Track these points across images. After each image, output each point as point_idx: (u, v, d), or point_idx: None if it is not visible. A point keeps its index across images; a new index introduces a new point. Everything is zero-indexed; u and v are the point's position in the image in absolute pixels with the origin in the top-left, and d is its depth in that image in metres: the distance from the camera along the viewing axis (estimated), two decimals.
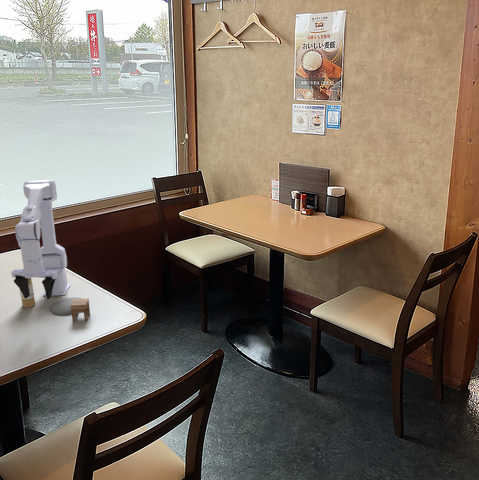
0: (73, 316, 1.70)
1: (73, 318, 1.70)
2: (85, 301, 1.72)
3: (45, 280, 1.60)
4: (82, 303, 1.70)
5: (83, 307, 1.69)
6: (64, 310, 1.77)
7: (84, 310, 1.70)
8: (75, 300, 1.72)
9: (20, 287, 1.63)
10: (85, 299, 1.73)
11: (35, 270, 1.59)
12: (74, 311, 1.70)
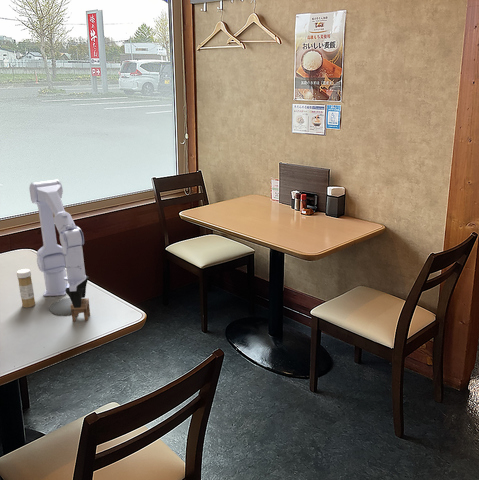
0: (73, 316, 1.70)
1: (73, 318, 1.70)
2: (85, 301, 1.72)
3: (68, 288, 1.65)
4: (82, 303, 1.70)
5: (83, 307, 1.69)
6: (64, 310, 1.77)
7: (84, 310, 1.70)
8: None
9: None
10: (85, 299, 1.73)
11: (68, 276, 1.66)
12: (74, 311, 1.70)
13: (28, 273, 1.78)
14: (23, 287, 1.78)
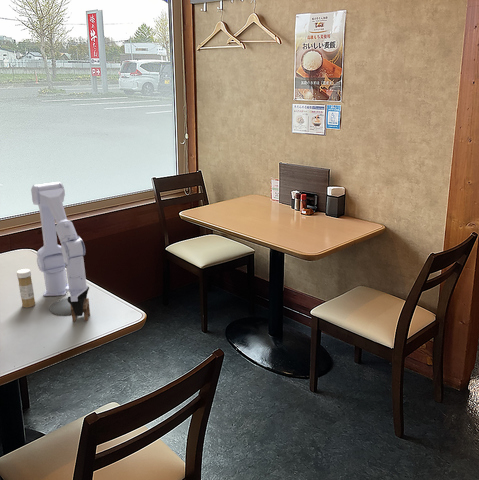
0: (73, 316, 1.70)
1: (73, 318, 1.70)
2: (85, 301, 1.72)
3: (69, 298, 1.66)
4: None
5: (83, 307, 1.69)
6: (64, 310, 1.77)
7: (84, 310, 1.70)
8: None
9: None
10: (85, 299, 1.73)
11: (69, 286, 1.67)
12: None
13: (28, 273, 1.78)
14: (23, 287, 1.78)
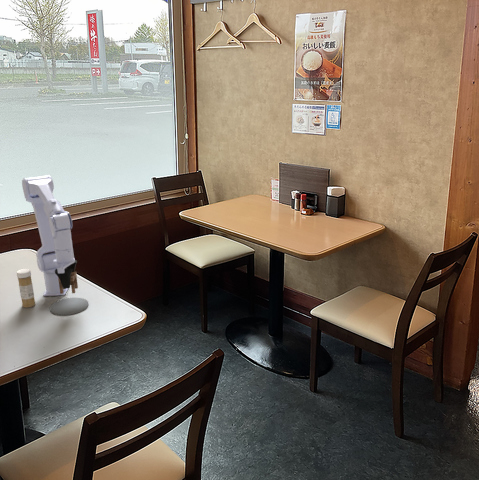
0: (61, 288, 1.75)
1: (61, 290, 1.75)
2: (73, 274, 1.76)
3: (56, 270, 1.70)
4: None
5: (70, 280, 1.74)
6: (64, 310, 1.77)
7: (71, 283, 1.74)
8: None
9: None
10: (73, 272, 1.77)
11: (57, 258, 1.72)
12: None
13: (28, 273, 1.78)
14: (23, 287, 1.78)
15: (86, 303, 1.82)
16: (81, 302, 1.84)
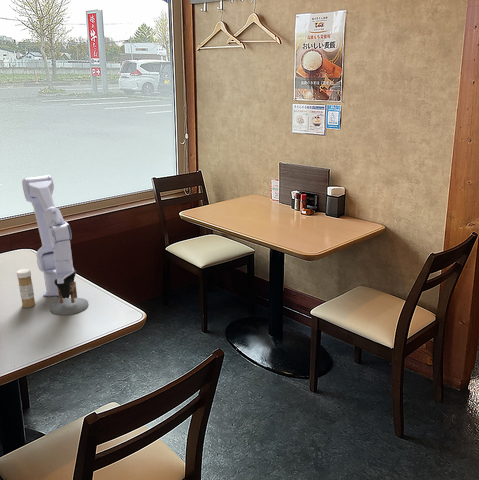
0: (60, 298, 1.77)
1: (60, 300, 1.78)
2: (72, 284, 1.79)
3: (56, 281, 1.73)
4: None
5: (70, 289, 1.77)
6: (64, 310, 1.77)
7: (71, 292, 1.77)
8: None
9: None
10: (72, 282, 1.80)
11: (56, 269, 1.75)
12: None
13: (28, 273, 1.78)
14: (23, 287, 1.78)
15: (86, 303, 1.82)
16: (81, 302, 1.84)
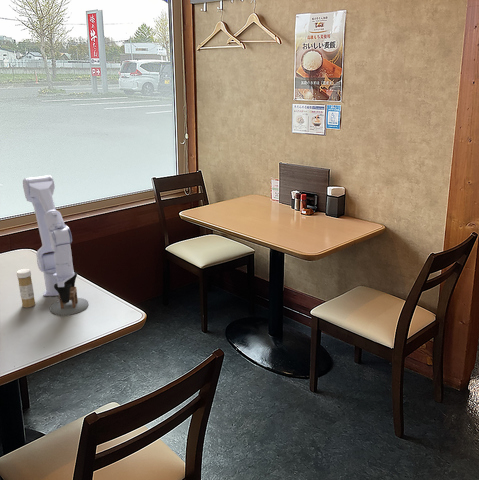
0: (61, 303, 1.78)
1: (61, 305, 1.78)
2: (73, 289, 1.79)
3: (56, 284, 1.73)
4: (70, 291, 1.78)
5: (71, 295, 1.77)
6: (64, 310, 1.77)
7: (72, 298, 1.78)
8: None
9: None
10: (73, 287, 1.81)
11: (57, 272, 1.75)
12: None
13: (28, 273, 1.78)
14: (23, 287, 1.78)
15: (86, 303, 1.82)
16: (81, 302, 1.84)
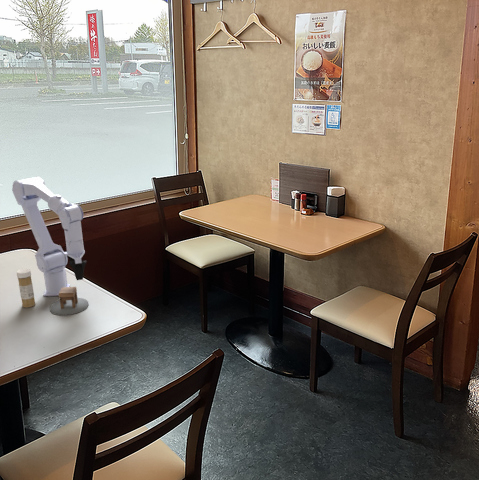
0: (61, 303, 1.78)
1: (61, 305, 1.78)
2: (73, 289, 1.79)
3: (71, 262, 1.75)
4: (70, 291, 1.78)
5: (71, 295, 1.77)
6: (64, 310, 1.77)
7: (72, 298, 1.78)
8: (63, 288, 1.80)
9: None
10: (73, 287, 1.81)
11: (69, 250, 1.76)
12: (62, 299, 1.78)
13: (28, 273, 1.78)
14: (23, 287, 1.78)
15: (86, 303, 1.82)
16: (81, 302, 1.84)
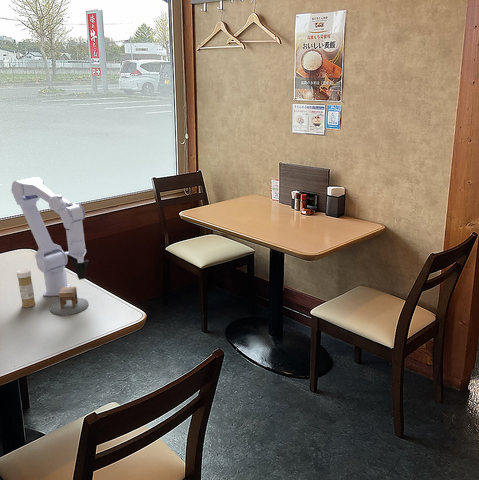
0: (61, 303, 1.78)
1: (61, 305, 1.78)
2: (73, 289, 1.79)
3: (73, 261, 1.75)
4: (70, 291, 1.78)
5: (71, 295, 1.77)
6: (64, 310, 1.77)
7: (72, 298, 1.78)
8: (63, 288, 1.80)
9: (71, 261, 1.84)
10: (73, 287, 1.81)
11: (70, 250, 1.76)
12: (62, 299, 1.78)
13: (28, 273, 1.78)
14: (23, 287, 1.78)
15: (86, 303, 1.82)
16: (81, 302, 1.84)
